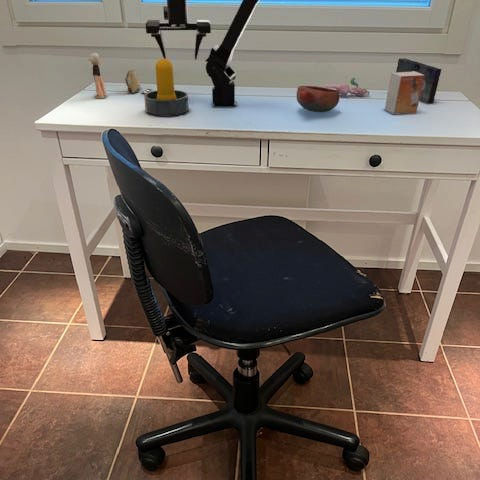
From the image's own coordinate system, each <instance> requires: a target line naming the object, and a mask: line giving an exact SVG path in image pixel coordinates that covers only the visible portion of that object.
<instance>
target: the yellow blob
mask: <svg viewBox="0 0 480 480" xmlns="http://www.w3.org/2000/svg"><path fill="white" fill-rule="evenodd" d="M154 68H155V79H156V91H157V92H158V94H157V100H175V99H176V95H175V91H174V90H175V80H174V78H175V77H174V67H173V64H172V62H171V61H170V60H168V59H167V58H166V59H164V58H160V59H158V60H157V61H156V63H155V66H154Z"/></svg>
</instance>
